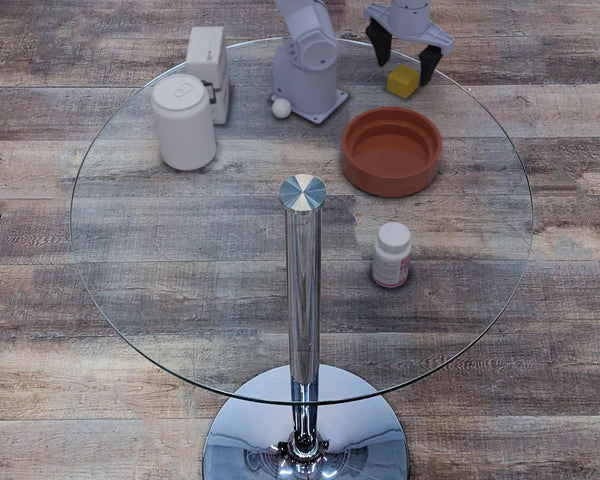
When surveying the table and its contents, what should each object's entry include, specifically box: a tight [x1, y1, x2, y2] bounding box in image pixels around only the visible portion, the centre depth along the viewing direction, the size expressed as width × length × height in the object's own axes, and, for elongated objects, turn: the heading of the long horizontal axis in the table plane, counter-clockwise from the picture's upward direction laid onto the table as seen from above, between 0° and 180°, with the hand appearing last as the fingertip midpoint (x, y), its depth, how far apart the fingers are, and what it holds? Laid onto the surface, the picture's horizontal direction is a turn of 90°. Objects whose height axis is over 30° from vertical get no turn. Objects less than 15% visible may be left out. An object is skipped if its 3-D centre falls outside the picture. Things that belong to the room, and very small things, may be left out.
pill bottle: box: [371, 221, 412, 288], centre depth 112 cm, size 5×5×8 cm
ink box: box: [184, 26, 231, 125], centre depth 130 cm, size 8×5×12 cm, turn 177°
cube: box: [386, 63, 421, 100], centre depth 136 cm, size 4×4×3 cm
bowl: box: [340, 106, 443, 198], centre depth 126 cm, size 14×14×4 cm
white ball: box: [271, 98, 292, 119], centre depth 132 cm, size 3×3×3 cm
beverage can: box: [150, 73, 217, 171], centre depth 124 cm, size 8×8×12 cm
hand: (404, 72), depth 134 cm, fingers open, 7 cm apart
